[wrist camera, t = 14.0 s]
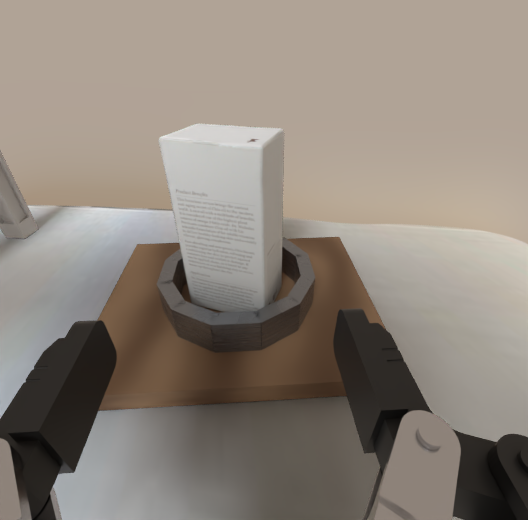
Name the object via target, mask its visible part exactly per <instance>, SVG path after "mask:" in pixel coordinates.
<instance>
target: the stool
mask: <svg viewBox="0 0 528 520" xmlns="http://www.w3.org/2000/svg"><path fill="white" fill-rule="evenodd" d="M0 228H1V230H2V232H3V233H4V235H5V237H6V238H20V239H25V238H27V237H28V236H30V235H31V234H33V233H34V232H35V231H37V230H38V227H37V224H36V222H35V220H34V218H33V216H32V214H31V212H30V210H29V208H28V206H27V204H26V202H25V200H24V198H23V196H22V194H21V192H20V190H19V188H18V186H17V184H16V182H15V180H14V177H13V175H12V173H11V171H10V169H9V167H8V165H7V163H6V161H5V159H4V157H3V155H2V153H1V151H0Z"/></svg>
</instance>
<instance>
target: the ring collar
mask: <svg viewBox="0 0 528 520" xmlns="http://www.w3.org/2000/svg"><path fill="white" fill-rule="evenodd" d="M282 272H283V273H284V274H286V275H287V276H288V277H289V278H290V279H292V280H293V281H294V283H295V285H294V287H293V288H292V290H291V291H290V293H289V294H288V296H287V297H285V298H282V299H280V300H278V301H276V302H274V303H272V304H270V305H267V306H265V307H263V308H261V309H259V310H257V311H243V312H222V313H216V312H213V311H210V310H208V309H205V308H203V307H200V306H197V305H195V304H192V303H189V302H187V301H185V300H184V299H183V297H182V296H181V294H182V289H183V286H184V285H186V284H187V279H186V274H185V269H184V264H183V258H182V254H181V248H180V249H179V250H178V251H176V252H175V253H174V254H172V255H171V256H170V257H168V258H167V259H166V260H165V262H164V265H163V268H162V271H161V273H160V276H159V279H158V282H157V288H158V291H159V295H160V299H161V302H162V306H163V310H164V312H165V314H166V316H167V318H168V319H169V321H170V323H171V325H172V327H173V328H174V330H175V332H176V334H177V336H178V337H180V338H182V339H184V340H187V341H189V342H191V343H194V344H196V345H198V346H200V347H203V348H205V349H207V350H210V351H212V352H214V353H221V352H240V351H259V350H263V349H265V348H267V347H269V346H271V345H272V344H274V343H276V342H278V341H280V340H282V339H284V338H285V337H287V336H289V335H291V334H293V333H295V332H297V331H298V330H299V328H300V326H301V324H302V322H303V321H304V319H305V317H306V315H307V313H308V311H309V309H310V308H311V306H312V303H313V294H314V285H315V275H314V271H313V268H312V265H311V262H310V259H309V256H308V254H307V253H306V252H304V251H303V250H302V249H300V248H299V247H297V246H296V245H295V244H293V243H292V242H290V241H289V240H288V239H286V238H283V237H282Z"/></svg>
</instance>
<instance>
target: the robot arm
mask: <svg viewBox="0 0 528 520" xmlns="http://www.w3.org/2000/svg"><path fill="white" fill-rule="evenodd" d="M333 348H334V354H335V358H336V361H337V365H338V368H339V371H340V374H341V378H342V381H343V384H344V388H345V391H346V394H347V398H348V401H349V404H350V408H351V411H352V414H353V417H354V421H355V424H356V427H357V431H358V434H359V437H360V441H361V444H362V447H363V450H364V453H376V455H377V458H378V461H379V464H380V466H379V469H378V472H377V475H376V478H375V481H374V484H373V487H372V490H371V494H370V497H369V500H368V503H367V506H366V509H365V512H364V515H363V519H362V520H452V516H454V517H458V518H461V519H464V520H528V437H525V436H522V435H518V434H508V435H505V436H503V437H501V438H500V439H499V440H498V442H493V441H489V440H486V439H482V438H478V437H474V436H470V435H466V434H463V433H460V432H458V431H455V430H453V429H452V428H451V427H450V426H449V425H448V424H447V423H446V422H445V421H444V420H442V419H441V418H440V417H438V416H436V415H435V414H433V413H432V411H431V410H430V409H429V407H428V405H427V404H426V402H425V400H424V398H423V396H422V394H421V392H420V390H419V388H418V386H417V384H416V382H415V380H414V378H413V377H412V375H411V373H410V371H409V369H408V367H407V365H406V363H405V362H404V361H403V357H402V355H401V353H400V351H398V348H397V346H396V344H395V342H394V340H393V338H392V336H391V334H390V333H389V332H388V331H387V330H386V329H385V328H383V327H382V326H381V325H380V324H379V323H369V321H368V319H367V316H366V314H365V312H364V310H363V309H361V308H356V309H340V310H339V311H338V316H337V321H336V327H335V332H334V338H333ZM116 361H117V353H116V349H115V346H114V344H113V342H112V339H111V337H110V335H109V333H108V330H107V328H106V326H105V324H104V322H103V321H101V320H97V321H78V322H75V323H74V324H73V325H72V327H71V329H70V330H69V332H68V334H67V335H66V337H65V338H59V339H58V340H56V341H55V342H54V343H53V344H52V345H51V346H50V347H49V348H47V349H46V350H45V351H44V352H43V354H42V355H41V357H40V358H39V360H38V362H37V363H36V365H35V366H34V370H32V371H31V372H30V374H29V375H28V377H27V379H26V382H25V383H23V385H22V386H21V388H20V389H19V391H18V393H17V394H16V396H15V397H14V399H13V400H12V402H11V403H10V405H9V407H8V408H7V410H6V411H5V413H4V414H3V416H2V417H1V419H0V520H62V517H61V513H60V509H59V505H58V501H57V497H56V493H55V490H54V488H53V485H54V482H55V480H56V478H57V475H58V474H61V473H74V471H75V469H76V466H77V464H78V461H79V459H80V456H81V454H82V451H83V448H84V446H85V443H86V441H87V438H88V436H89V433H90V431H91V428H92V425H93V423H94V420H95V418H96V415H97V413H98V410H99V408H100V405H101V402H102V400H103V397H104V395H105V392H106V390H107V387H108V385H109V382H110V379H111V377H112V374H113V372H114V369H115V366H116Z"/></svg>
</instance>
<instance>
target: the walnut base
mask: <svg viewBox="0 0 528 520" xmlns="http://www.w3.org/2000/svg"><path fill="white" fill-rule="evenodd" d="M288 240H289V241H290V242H292V243H293V244H295V245H296V246H297V247H299V248H300V249H302V250H303V251H304V252H306V253H307V254H308V256H309V259H310V262H311V265H312V268H313V271H314V275H315V285H314V294H313V303H312V306H311V308H310V309H309V311H308V313H307V315H306V317H305V319H304V321H303V322H302V324H301V326H300V328H299V330H298V331H297V332H295V333H293V334H291V335H289V336H287V337H285V338H284V339H282V340H280V341H278V342H276V343H274V344H272V345H271V346H269V347H267V348H265V349H263V350H259V351H240V352H221V353H214V352H212V351H210V350H207V349H205V348H203V347H200V346H198V345H196V344H194V343H191V342H189V341H187V340H184V339H182V338H180V337H178V336H177V334H176V332H175V330H174V328H173V327H172V325H171V323H170V321H169V319H168V318H167V316H166V314H165V312H164V310H163V306H162V302H161V299H160V295H159V291H158V288H157V282H158V279H159V276H160V273H161V271H162V268H163V265H164V262H165V260H166V259H167V258H168V257H170V256H171V255H172V254H174V253H175V252H176V251H178V250H179V249H180V243H163V244H137V246H136V248H135V250H134V252H133V254H132V256H131V257H130V259H129V261H128V263H127V265H126V267H125V269H124V271H123V273H122V275H121V276H120V278H119V280H118V282H117V284H116V286H115V288H114V290H113V292H112V294H111V295H110V297H109V299H108V301H107V303H106V305H105V307H104V309H103V311H102V313H101V314H100V316H99V318H98V320H101V321H103V322H104V324H105V326H106V328H107V330H108V333H109V335H110V337H111V339H112V342H113V344H114V346H115V349H116V353H117V361H116V366H115V369H114V372H113V374H112V377H111V379H110V382H109V385H108V387H107V390H106V392H105V395H104V397H103V400H102V402H101V405H100V408H99V410H98V411H101V410H118V409H134V408H151V407H168V406H185V405H201V404H218V403H235V402H251V401H268V400H285V399H302V398H318V397H335V396H347V394H346V391H345V388H344V384H343V381H342V378H341V374H340V371H339V368H338V365H337V361H336V358H335V354H334V348H333V338H334V332H335V327H336V321H337V316H338V311H339V310H340V309H356V308H361V309H363V310H364V312H365V314H366V316H367V319H368V321H369V323H379V324H380V325H381V326H382V327H383V328H385V326H384V325H383V323H382V321H381V319H380V317H379V315H378V313H377V311H376V309H375V307H374V305H373V303H372V301H371V299H370V297H369V295H368V293H367V291H366V289H365V287H364V285H363V283H362V281H361V279H360V277H359V275H358V273H357V271H356V269H355V267H354V265H353V263H352V261H351V259H350V257H349V255H348V253H347V251H346V250H345V248H344V246H343V244H342V242H341V240H340V238H339V237H325V238H298V239H288ZM294 285H295V283H294V281H293V280H292V279H290V278H289V277H288V276H287V275H286V274H284V273H283V272H282V285H281V289H280V291H279V293H278V295H277V297H276V299H275V301H274V302H276V301H278V300H280V299H282V298H285V297H287V296H288V294H289V293H290V291H291V290H292V288H293V287H294ZM181 296H182V297H183V299H184V300H185V301H187V302H189V303H191V299H190V294H189V289H188V284H186V285H184V286H183V289H182V294H181ZM197 306H198V305H197ZM200 307H202V306H200ZM203 308H205V309H208V310H210V311H213V312H216V313H222V311H218V310H214V309H210V308H206V307H203ZM385 329H386V328H385Z"/></svg>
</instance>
